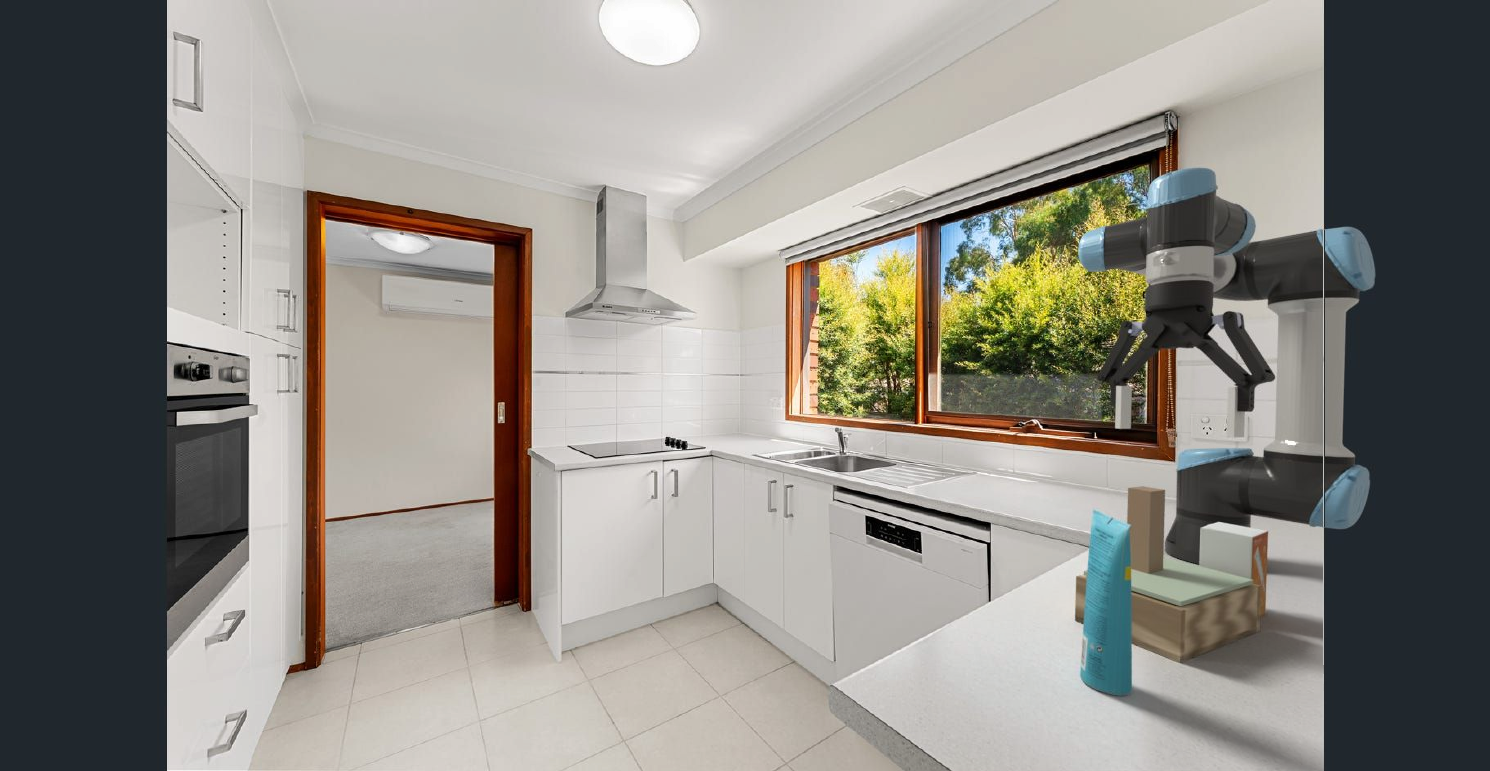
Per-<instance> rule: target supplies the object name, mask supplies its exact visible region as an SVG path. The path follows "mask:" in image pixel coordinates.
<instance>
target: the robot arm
mask: <svg viewBox="0 0 1490 771" xmlns="http://www.w3.org/2000/svg"><path fill="white" fill-rule="evenodd" d="M1148 187H1149V188H1148V195H1147V203H1146V206H1145V209H1146V216H1145V217H1140V218H1137V219H1136V218H1135V219H1132V220H1127V221H1122V222H1119V223H1114V224H1109V225H1104V226H1101V227H1098V228H1095V229H1091V230H1088V231H1086V232H1085V233H1084V234H1083V235H1082V237H1081V238H1080V240H1079V243H1078V259H1079V262H1080V264H1081V266H1082V268H1083V269H1084V270H1086V271H1088V272H1093V273H1094V272H1095V273H1097V272H1107V271H1111V270H1120V271H1125V272H1129V273H1133V274H1138V275H1141V276H1144V277H1145V282H1146V283H1147V284H1148V286H1147V287H1146V288H1145V290H1144V312H1145V318H1144V319H1143V321H1131V320H1130V321H1129V320H1123V321H1122V322H1120V328H1119V334H1118V337H1117V339H1116V340H1115V343H1114V344H1113V346H1112V349H1111V350H1110V352H1109V354H1108V356H1107V358H1106V359H1105V361H1104V363H1103V364H1102V367H1101V368H1100V371H1099V372H1098V374H1097V376H1096V378H1097V381H1098V382H1103V383H1106V384H1108V385H1109V386H1110V387H1109V388H1110V393H1109V394H1110V399H1109V401H1110V402H1109V403H1110V406H1111V407H1115V417H1114V418H1115V422H1114V423H1115V424H1114V428H1115V429H1119V430H1123V429H1126V430H1127V429H1130V430H1131V429H1132V428H1131V427H1132V396H1133V395H1132V394H1133V393H1132V392H1133V391H1132V390H1133V387H1132V385H1131V386H1129V384H1128V382H1129V381H1130V380H1131V379H1132V378H1133V377H1134V376H1136V373H1138V372H1139V371H1140V370H1141V369H1142V368H1143V367H1144V366H1145V364H1146V363H1147V362H1149V360H1150V359H1151V358H1152V357H1153V356H1154V355H1155V354H1156V353H1159V352H1160V351H1161V350H1175V349H1179V348H1180V349H1194V348H1196V349H1198V350H1199V351H1201V352H1202V353H1203V354H1204V355H1205V356H1206V357H1207V358H1208V359H1210V361H1212V362H1213V364H1214V365H1216V367H1218V369H1220V371H1221V372H1223V373H1224V374H1225V375H1226V376H1227V377H1228V378H1229V379H1230V380H1231V381H1232V382H1233V383H1234V384H1233V385H1234V386H1228V387H1227V409H1226V410H1227V411H1226V412H1227V413H1226V438H1245V427H1246V426H1245V425H1246V424H1245V422H1246V421H1245V420H1246V419H1245V415H1246V412H1247V413H1249V412H1250V413H1251V412H1253V411H1254V409H1255V392H1256V391H1255V390H1256V388H1257V387H1258V386H1259V385H1261V384H1262V385H1263V384H1265V383H1272V382H1273V381H1275V380H1276V387H1275V388H1276V391H1275V392H1276V393H1275V396H1276V397H1275V424H1274V425H1275V427H1274V428H1275V429H1274V430H1275V431H1274V434H1275V435H1274V441H1272V442H1270V443H1269V444H1268V445H1266V446H1265V447H1263V456H1258V455H1257V456H1256V455H1254V454H1255V453H1254V451H1253V449H1252V448H1248V447H1247V448H1246V447H1230V448H1229V447H1224V448H1223V447H1222V448H1221V447H1220V448H1218V447H1217V448H1214V447H1213V448H1187V449H1184V450H1182V451H1181V452H1180V453H1179V454H1178V457H1177V467H1176V469H1175V472H1176V493H1175V494H1176V496H1175V497H1176V502H1175V504H1176V508H1175V509H1176V510H1175V518H1174V520H1173V523H1172V524H1171V527H1170V529H1169V532H1168V533H1167V536H1166V538H1165V539H1164V552H1165V553H1166V554H1168V555H1169V556H1172V557H1173V558H1177V559H1179V560H1183V561H1184V562H1185V561H1186V562H1188V563H1193V564H1198V565H1199V561H1200V530H1201V527H1204V526H1207V525H1209V524H1214V523H1217V522H1222V523H1227V524H1233V525H1238V526H1244V527H1249V528H1252V527H1251V526H1252V524H1251V521H1252V519H1251V518H1252V517H1251V516H1256V517H1260V518H1267V519H1272V520H1279V521H1285V522H1289V523H1295V524H1297V523H1298V524H1303V525H1308V526H1309V527H1312V528H1316V527H1320V528H1326V529H1336V530H1346V529H1348V528H1350V527H1352V526H1354V525H1355V524H1356V523H1357V522H1358V520H1359V519H1360V517H1361V515H1362V513H1363V511H1364V508H1365V506H1366V503H1367V500H1368V495H1369V491H1370V486H1371V479H1370V471H1369V470H1368V468H1367V467H1364V466H1362V465H1360V464H1356V455H1355V454H1354V452H1352V451H1350V449H1348V448H1347V447H1345V446H1344V444H1343V430H1344V429H1343V428H1344V427H1343V426H1344V425H1343V424H1344V394H1345V393H1344V392H1345V391H1344V389H1345V358H1346V357H1345V356H1346V324H1347V323H1346V321H1347V319H1346V318H1347V312H1348V310H1350V309H1351V308H1353V307H1354V306H1355V305H1357V304H1358V303H1359V301H1360V292H1365V291H1367V290H1370V289H1373V288H1374V285H1375V279H1376V267H1375V262H1374V258H1373V257H1374V256H1373V253H1372V250H1371V247H1370V245H1369V242H1368V240H1367V238H1366V236H1365V235H1364V234H1363V233H1362V232H1361V231H1360V230H1359V229H1357V228H1355V227H1352V226H1342V227H1341V226H1340V227H1333V228H1327V229H1325V228H1324V229H1323V228H1321V229H1320V228H1319V229H1317V230H1313V231H1308V232H1303V233H1302V232H1301V233H1296V234H1290V235H1287V236H1286V235H1285V236H1280V237H1275V238H1270V239H1264V240H1259V241H1258V240H1257V241H1251V240H1252V239H1253V237H1254V235H1255V233H1256V228H1257V225H1256V224H1257V223H1256V220H1255V219H1256V218H1254V216H1253V214H1252V213H1251V212H1250V211H1249V210H1248V209H1246V208H1244V207H1243V206H1242V205H1240V204H1238V203H1233V202H1231V201H1228V200H1226V199H1224V198H1222V197H1220V196H1218V195H1217V190H1218V189H1219V186H1218V185H1217V175H1216V172H1215V171H1214V170H1212V169H1210V168H1208V167H1189V168H1188V167H1187V168H1183V169H1182V168H1181V169H1177V170H1174V171H1170V172H1168V173H1164V174H1163V175H1160V176H1158V177H1157V178H1155V179H1154V180H1153V181H1152V182H1151V183H1150V185H1149V186H1148ZM1323 230H1325V527H1323ZM1214 299H1218V300H1226V301H1235V302H1236V301H1237V302H1241V301H1242V302H1252V301H1263V300H1267V308H1268V309H1269V310H1271V311H1272V312H1273V313H1275V314H1276V315H1277V317H1278V318H1277V325H1278V326H1277V351H1276V352H1277V354H1276V355H1277V357H1276V358H1277V359H1276V375H1275V373H1274V371H1273V370H1272V369H1271V367H1270V366H1269V364H1268V362H1267V361H1266V359H1265V358H1264V356H1263V355H1262V353H1261V352H1260V350H1259V348H1258V347H1257V346H1256V344H1255V342H1254V341H1253V339H1252V338H1251V336H1250V335H1249V332H1248V331H1247V330H1246V327H1245V320H1244V319H1245V318H1244V315H1243V313H1241V312H1236V311H1230V310H1228V311H1224V312H1223V314H1222V313H1221V314H1217V315H1215V314H1214V312H1213V307H1214ZM1216 325H1218V327H1219V328H1220V329H1221V330H1224V332H1225V334H1226V336H1227V337H1228V339H1229V340H1230V342H1231V344H1232V345H1233V347H1234V348H1235V350H1236V351H1237V353H1238V355H1239V357H1240V358H1241V360H1242V362H1243V363H1244V365H1245V366H1246V368H1247V369H1248V371H1249V372H1248V371H1247V370H1246V369H1245V368H1244V367H1242V365H1240V364H1239V363H1238V362H1237V361H1236V360H1235V359H1234V358H1233V357H1232V356H1230V354H1228V352H1226V351H1225V350H1224V349H1223V348H1222V347H1221V346H1220V345H1219V343H1218V342H1217V341H1216V340H1215V339H1214V338H1212V336H1210V335H1209V333H1210V332H1211V331H1212V330H1213V329H1214V327H1216ZM1142 332H1144V334H1146V337H1145V338H1144V339H1143V340H1142V341H1141V342H1140V343H1139V345H1138V348H1137V349H1136V350H1135V351H1134V352H1133V353H1132V354H1131V356H1130V357H1129V358H1128V359H1127V360H1126V358H1127V356H1128V355H1129V353H1130V351H1131V350H1132V347H1133V345H1134V344H1135V342H1136V340H1137V337H1138V336H1139V335H1140V334H1141V333H1142ZM1124 361H1125V362H1124Z"/></svg>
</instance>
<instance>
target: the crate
mask: <svg viewBox="0 0 1490 771" xmlns="http://www.w3.org/2000/svg"><path fill="white" fill-rule="evenodd" d="M1086 583H1087V576H1085V575H1084V574H1081V575H1075V600H1074V601H1075V606H1074V607H1075V609H1074V621H1075V622H1077V623H1080V624H1082V625H1084V612H1085V597H1086ZM1260 599H1261V586H1260V585H1256V584H1252V585H1249V586H1245V587H1242V588H1239V589H1236V590H1232V591H1229V592H1226V593H1223V594H1219V595H1216V596H1213V597H1210V598H1206V599H1203V600H1200V601H1197V602H1193V603H1190V604H1187V605H1184V606H1178V605H1175V604H1172V603H1169V602H1166V601H1163V600H1160V599H1156V598H1153V597H1150V596H1147V595H1144V594H1141V593H1138V592H1135V591H1132V590H1131V612H1132V645H1135V646H1138V647H1139V648H1142V649H1144V650H1148V651H1149V652H1152V653H1154V654H1157V655H1159V656H1162V657H1165V658H1167V659H1169V660H1172V661H1174V662H1177V663H1179V664H1180V663H1184V662H1186V661H1189V660H1190V659H1193V658H1196V657H1199V656H1201V655H1203V654H1206V653H1208V652H1211V651H1214V650H1216V649H1218V648H1220V647H1223V646H1226V645H1229V644H1230V643H1234V642H1236V641H1239V640H1241V639H1243V638H1246V637H1248V636H1251V635H1253V634H1256V633H1259V632H1260V631H1261V627H1260V626H1261V616H1260Z"/></svg>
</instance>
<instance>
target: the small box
mask: <svg viewBox="0 0 1490 771" xmlns="http://www.w3.org/2000/svg"><path fill="white" fill-rule="evenodd" d="M1268 541H1269V530H1265V529H1259V528H1254V527H1251V528H1249V527H1244V526H1238V525H1233V524H1227V523H1222V522H1217V523H1214V524H1209V525H1207V526H1204V527H1201V530H1200V561H1199V564H1198V566H1201V567H1205V568H1209V569H1213V570H1217V571H1221V572H1225V573H1228V574H1232V575H1236V576H1240V577H1244V578H1248V579H1252V580H1253V584H1256V585H1260V586H1261V599H1260V617H1262V616H1264V615H1265V614H1266V608H1267V605H1266V603H1267V601H1266V600H1267V578H1268V577H1267V576H1268V575H1267V573H1268V546H1269V544H1268Z"/></svg>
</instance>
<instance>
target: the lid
mask: <svg viewBox="0 0 1490 771" xmlns="http://www.w3.org/2000/svg"><path fill="white" fill-rule="evenodd" d="M1165 511H1166V489H1163V488H1156V487H1149V486H1142V485H1141V486H1134V487H1127V513H1126V514H1127V517H1126V522H1127V524H1129V525H1131V528H1130V548H1131V590H1132V591H1135V592H1138V593H1141V594H1144V595H1147V596H1150V597H1153V598H1156V599H1160V600H1163V601H1166V602H1169V603H1172V604H1175V605H1178V606H1184V605H1187V604H1190V603H1193V602H1197V601H1200V600H1203V599H1206V598H1210V597H1213V596H1216V595H1219V594H1223V593H1226V592H1229V591H1232V590H1236V589H1239V588H1242V587H1245V586H1249V585H1252V584H1253V580H1252V579H1248V578H1244V577H1240V576H1236V575H1232V574H1228V573H1225V572H1221V571H1217V570H1213V569H1209V568H1205V567H1201V566H1199V565H1196V564H1194V563H1193V564H1192V563H1191V562H1187V561H1186V562H1185V561H1181V560H1178V559H1173V558H1170V557H1166V556H1164V554H1165V553H1164V552H1165V516H1166V515H1165V514H1166V513H1165ZM1083 575H1085V576H1087V570H1084V571H1083Z"/></svg>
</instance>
